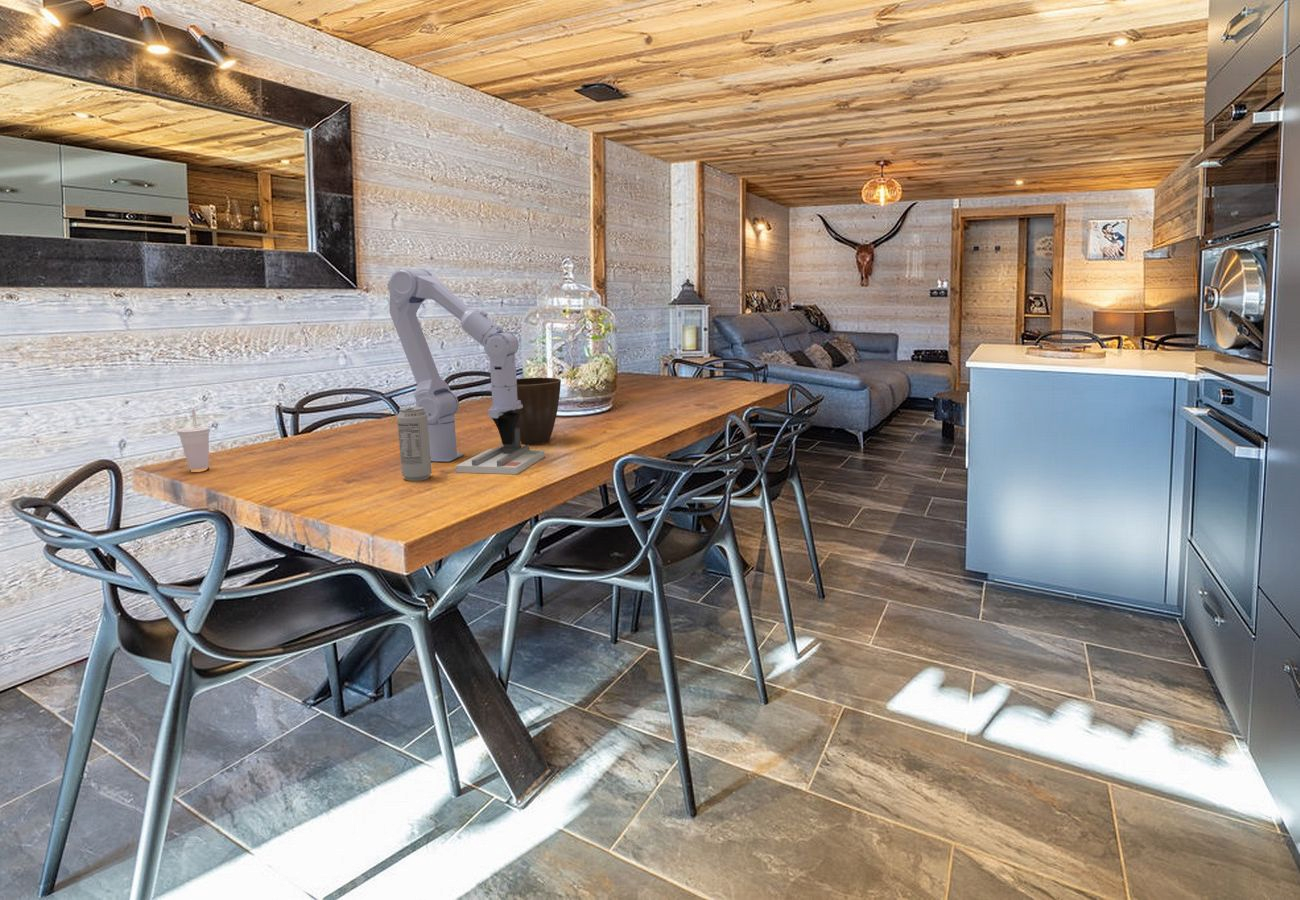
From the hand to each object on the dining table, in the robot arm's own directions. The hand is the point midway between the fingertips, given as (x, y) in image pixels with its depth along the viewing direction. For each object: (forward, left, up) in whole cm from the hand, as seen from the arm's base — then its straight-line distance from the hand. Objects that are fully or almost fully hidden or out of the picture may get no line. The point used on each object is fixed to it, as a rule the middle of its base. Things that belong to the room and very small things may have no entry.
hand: (507, 444), depth 177 cm
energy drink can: (-13, -19, -4) cm, 23 cm away
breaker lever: (0, +3, -2) cm, 4 cm away
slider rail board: (0, -4, -4) cm, 5 cm away
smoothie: (-67, -19, -4) cm, 70 cm away
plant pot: (-2, +22, -4) cm, 23 cm away
